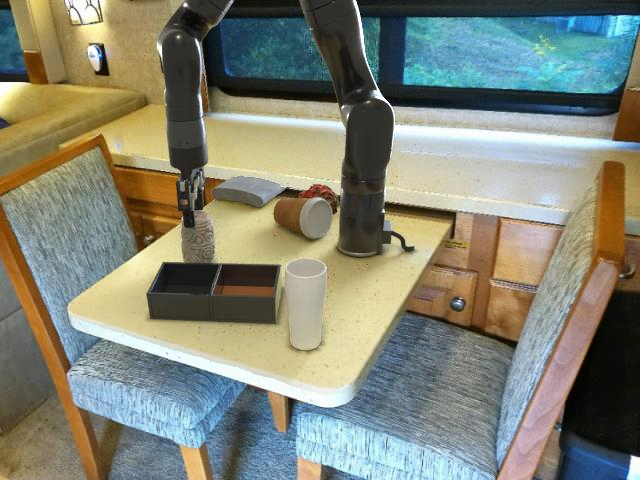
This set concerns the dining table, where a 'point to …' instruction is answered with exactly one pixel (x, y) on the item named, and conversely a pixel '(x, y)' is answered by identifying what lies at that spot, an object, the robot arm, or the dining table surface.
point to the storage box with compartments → (216, 292)
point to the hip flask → (248, 190)
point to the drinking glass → (305, 301)
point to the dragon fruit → (321, 195)
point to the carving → (198, 239)
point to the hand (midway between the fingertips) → (194, 218)
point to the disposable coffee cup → (304, 215)
